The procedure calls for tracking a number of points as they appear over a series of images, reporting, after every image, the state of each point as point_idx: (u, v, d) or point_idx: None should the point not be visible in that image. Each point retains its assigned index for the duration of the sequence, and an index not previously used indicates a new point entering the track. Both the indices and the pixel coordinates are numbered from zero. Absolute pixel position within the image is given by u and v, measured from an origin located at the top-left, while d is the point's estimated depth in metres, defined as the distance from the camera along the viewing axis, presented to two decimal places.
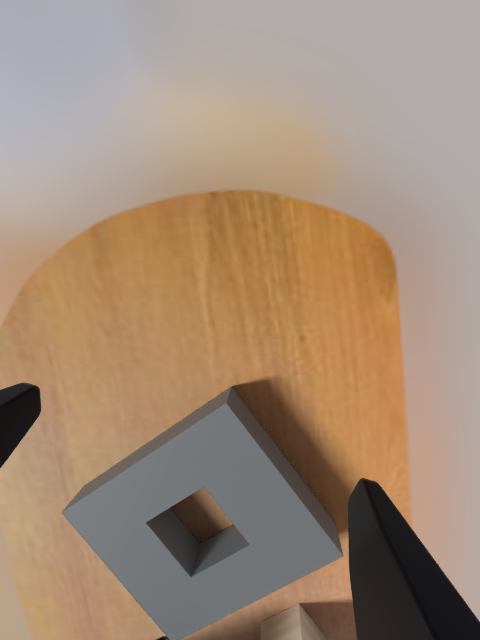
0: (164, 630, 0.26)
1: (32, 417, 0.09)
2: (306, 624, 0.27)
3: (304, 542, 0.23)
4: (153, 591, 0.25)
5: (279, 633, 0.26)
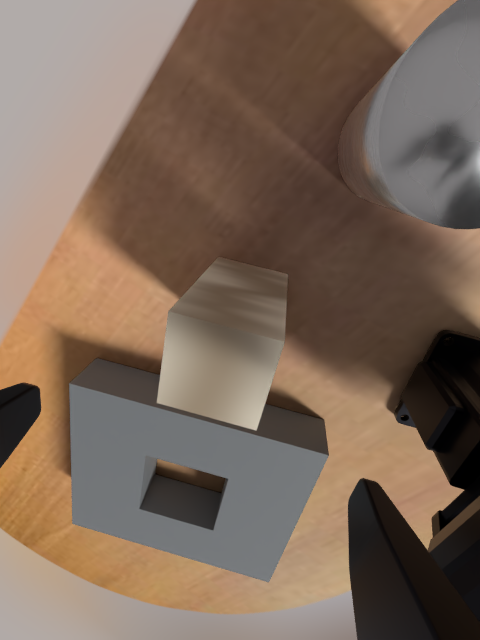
0: (318, 470, 0.19)
1: (32, 417, 0.09)
2: None
3: (95, 420, 0.20)
4: (277, 498, 0.21)
5: None
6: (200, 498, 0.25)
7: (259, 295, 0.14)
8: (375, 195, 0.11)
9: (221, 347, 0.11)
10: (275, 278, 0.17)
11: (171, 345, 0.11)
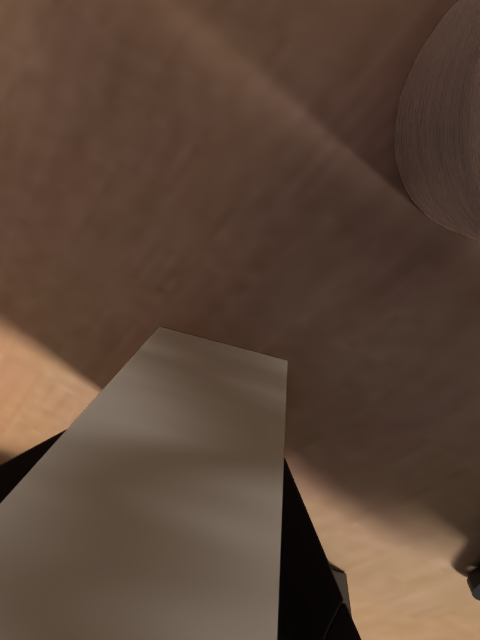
0: None
1: None
2: None
3: None
4: None
5: None
6: None
7: (216, 470, 0.06)
8: None
9: None
10: (261, 382, 0.08)
11: None
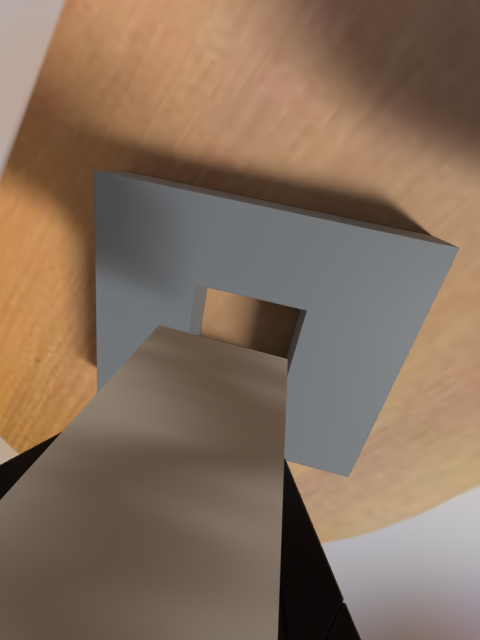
0: (439, 277, 0.14)
1: None
2: None
3: (128, 232, 0.15)
4: (374, 336, 0.15)
5: None
6: None
7: (216, 468, 0.06)
8: None
9: None
10: (261, 380, 0.08)
11: None
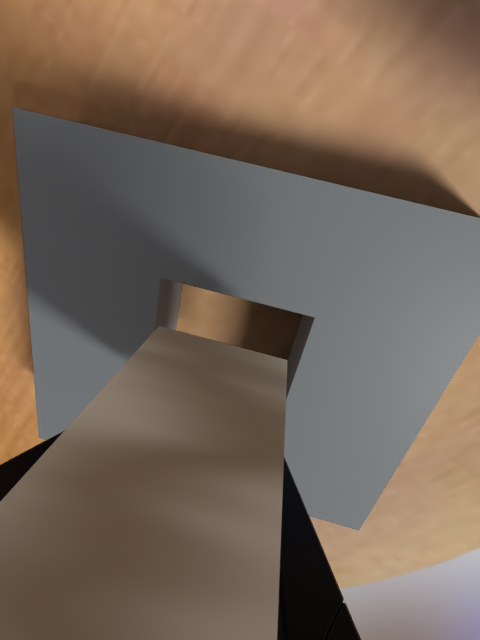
0: None
1: None
2: None
3: (66, 200, 0.11)
4: (406, 354, 0.11)
5: None
6: None
7: (215, 470, 0.06)
8: None
9: None
10: (261, 381, 0.08)
11: None
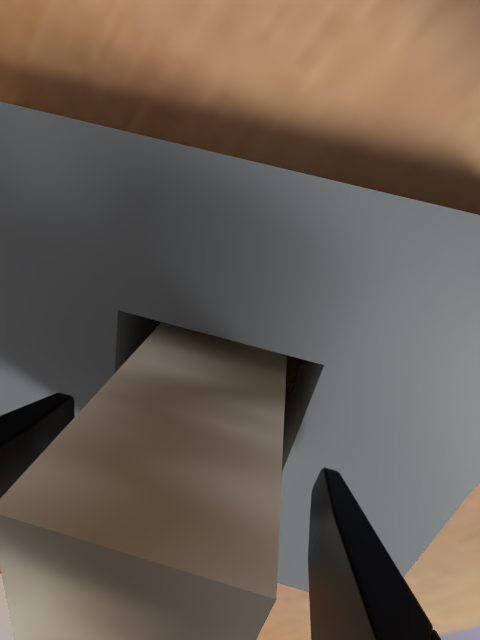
0: None
1: None
2: None
3: None
4: (447, 415, 0.08)
5: None
6: None
7: (233, 398, 0.07)
8: None
9: (125, 587, 0.05)
10: None
11: (16, 569, 0.05)
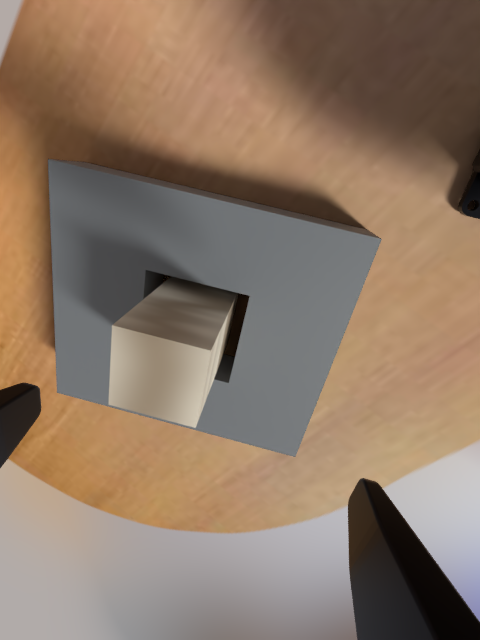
0: (366, 265, 0.15)
1: (32, 417, 0.09)
2: None
3: (81, 218, 0.16)
4: (311, 320, 0.17)
5: None
6: None
7: (203, 308, 0.16)
8: None
9: (158, 356, 0.13)
10: (225, 292, 0.18)
11: (117, 354, 0.13)
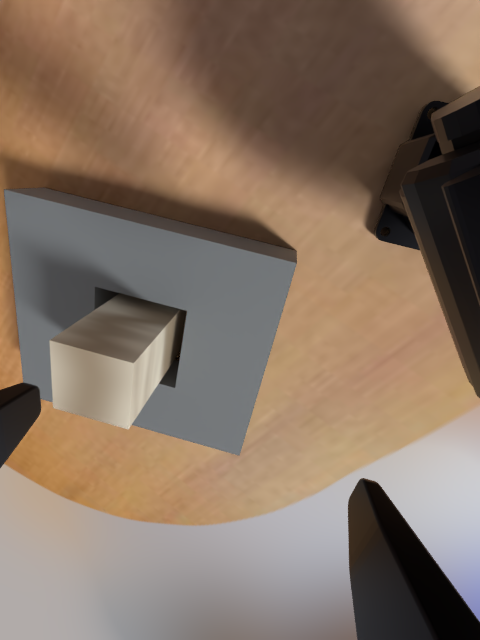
0: (285, 286, 0.17)
1: (32, 417, 0.09)
2: None
3: (36, 240, 0.18)
4: (242, 333, 0.18)
5: None
6: None
7: (142, 322, 0.18)
8: None
9: (90, 367, 0.15)
10: None
11: (56, 365, 0.15)
